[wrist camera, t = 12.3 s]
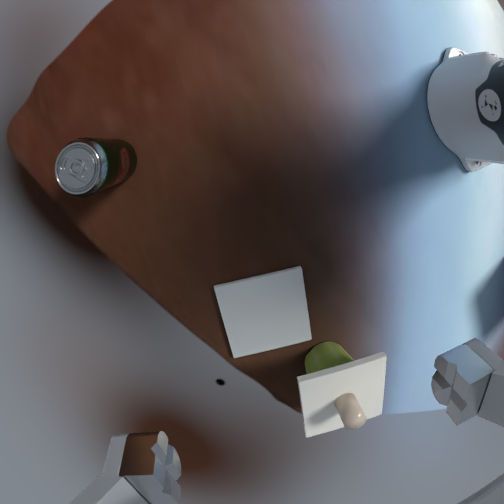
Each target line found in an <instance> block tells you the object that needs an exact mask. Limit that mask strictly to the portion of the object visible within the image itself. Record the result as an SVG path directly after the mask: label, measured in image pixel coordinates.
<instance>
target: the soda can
mask: <svg viewBox="0 0 504 504" xmlns="http://www.w3.org/2000/svg"><path fill="white" fill-rule="evenodd" d="M136 164H137V157H136V153H135V150H134V148H133V147H132V146H131V145H130V144H129V143H128V142H126V141H124V140H119V139H103V138H78V139H75V140H73V141H71V142H69V143H68V144H67V145H66V146H65V147H64V148H63V150H62V151H61V152H60V153H59V155H58V157H57V160H56V164H55V175H56V179H57V181H58V183H59V185H60V186H61V187H62V188H63V189H64V190H65V191H66V192H68V193H69V194H71V195H73V196H77V197H86V196H90V195H92V194H94V193H97V192H99V191H102V190H104V189H106V188H109V187H111V186H114V185H116V184H118V183H121V182H123V181H125V180H127V179H128V178H129V177H130V176H131V175H132V174H133V172H134V170H135V168H136Z"/></svg>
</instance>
